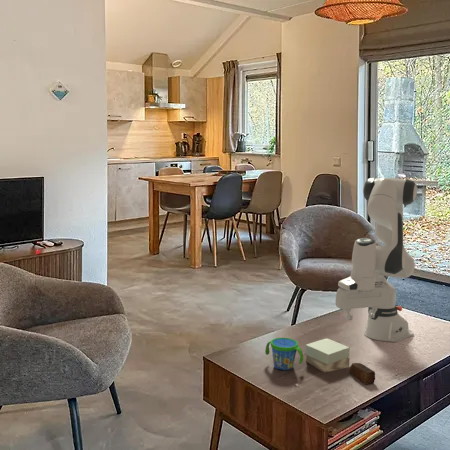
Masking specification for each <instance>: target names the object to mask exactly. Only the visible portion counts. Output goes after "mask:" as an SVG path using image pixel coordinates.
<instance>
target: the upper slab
mask: <svg viewBox="0 0 450 450" xmlns="http://www.w3.org/2000/svg"><path fill="white" fill-rule="evenodd" d="M306 355H308V356H310V357H313V358H315V359H317V360H319V361H321V362H324V363H326V364H331V363H334V362H337V361H339V360H342V359H345V358H350V347H349V346H347V345H345V344H343V343H339V342H337V341H335V340H332V339H330V338H323V339H319V340H316V341H313V342H310V343H307V344H305V356H306Z"/></svg>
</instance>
